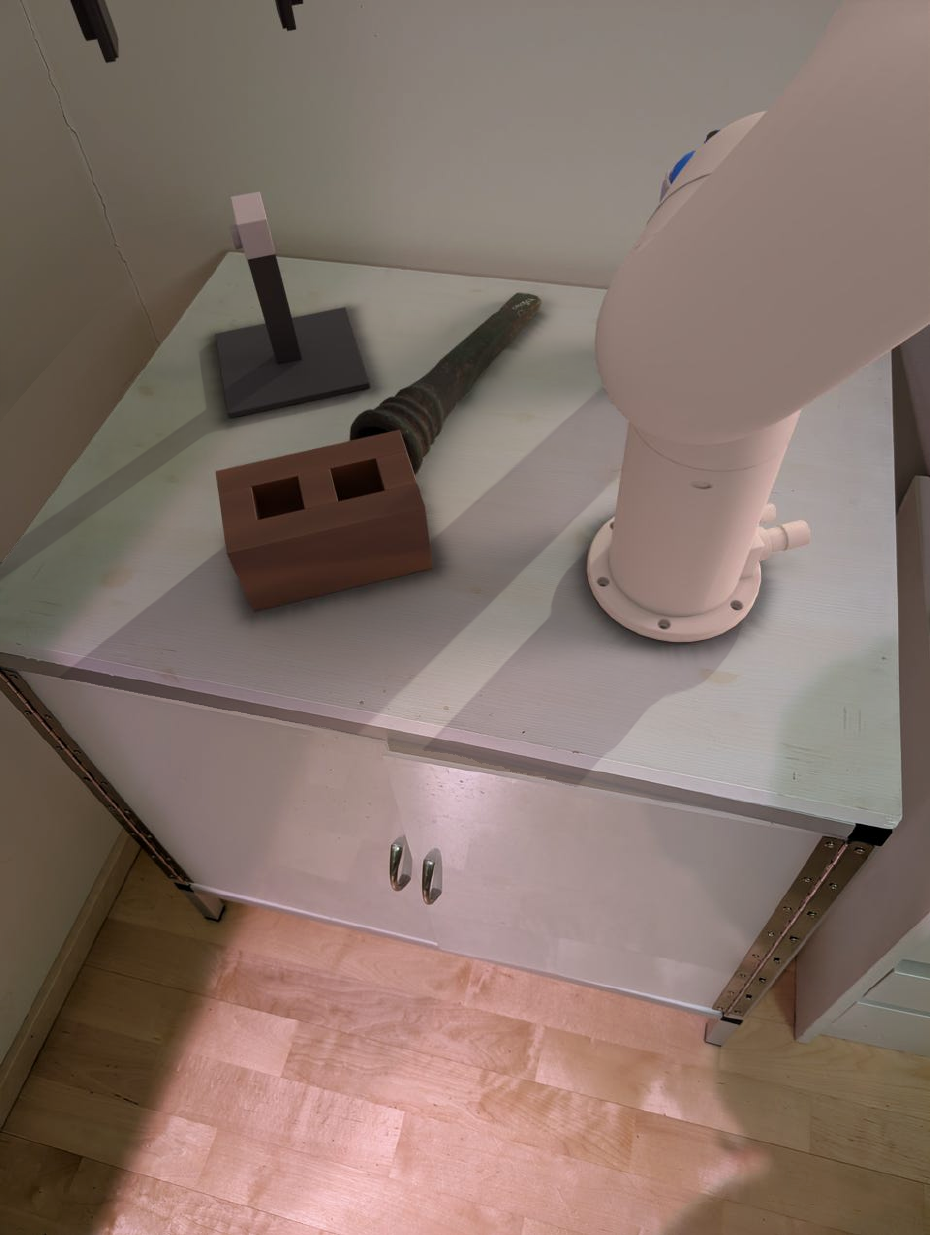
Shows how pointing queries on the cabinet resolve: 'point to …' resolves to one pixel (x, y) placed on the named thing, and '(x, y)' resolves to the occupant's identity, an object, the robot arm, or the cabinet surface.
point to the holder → (323, 520)
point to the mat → (290, 364)
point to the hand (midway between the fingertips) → (200, 36)
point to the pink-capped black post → (265, 274)
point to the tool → (445, 382)
